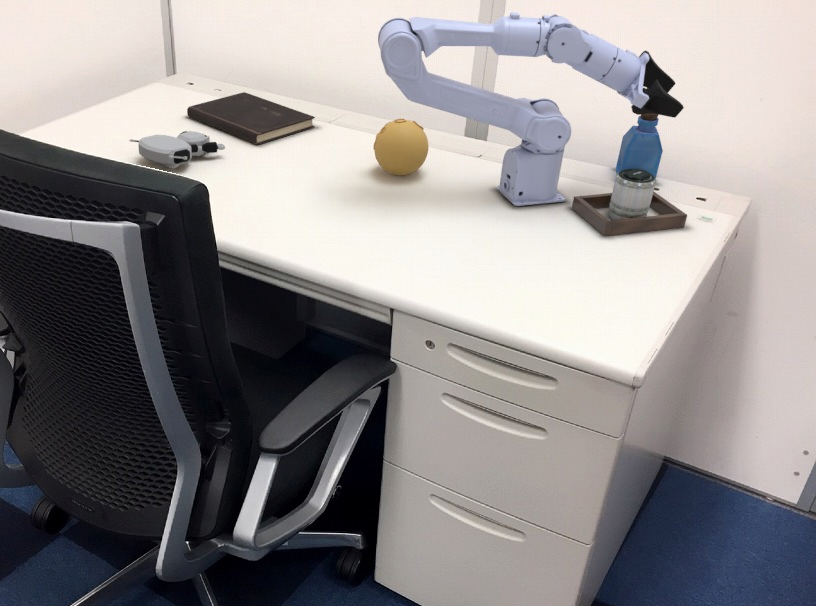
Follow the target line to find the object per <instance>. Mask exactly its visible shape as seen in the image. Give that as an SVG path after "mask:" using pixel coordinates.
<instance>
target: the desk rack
mask: <svg viewBox="0 0 816 606" xmlns="http://www.w3.org/2000/svg"><path fill="white" fill-rule="evenodd" d="M611 196H612V192H605V193H597V194H587V195H586V194H585V195H575V196H573V199H572V205H571V209H572V210H573V211H574V212H575V213H576V214H577V215H579V216H580V217H581V218H582V219H583V220H585V222H587V223H588V224H589V225H590V226H591V227H593V228H594V229H595V230H596V231H598V232H599V233H600V234H601V235H602V236H603V237H605V236H606V237H607V236H617V235H625V234H634V233H643V232H653V231H662V230H671V229H681V228H685V225H686V222H687V219H688V214H687V213H685V212H684V211H683V210H682V209H680V208H678V207H677V206H675V205H674V204H672V203H671V202H669V201H668V200H667V199H665V198H664V197H662V196H661V195H660V194H658V193H657V192H656V191H654V192H653V195H652V199H651V203H650V207H649V208H651V209H652V210H654V211H655V212H656V213H658V215H649V216H648V215H647V216H646V217H638V218H628V219H619V220H612V219H610V220H609V218H607V217H606V216H605V215H603V214H602V213H601V212H600V211H598V210H597V209H602V208H603V209H604V208H609V205H610V201H611Z"/></svg>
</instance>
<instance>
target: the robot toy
mask: <svg viewBox="0 0 816 606" xmlns="http://www.w3.org/2000/svg"><path fill="white" fill-rule="evenodd" d="M129 142H131V143H137V144H138V154H139V156H141V157H142V158H143V159H144V160H147V161H148V162H151V163H154V164H157V165H162V166H165V167H167V168H169V169H177V168H178V167H180V166H181V165H182V164H186V163H189V162H190V161H191V159H192V158H193V157H197V158H198V157H202V156H204V154H205V153H207V154H213V153H218V150H220V151H223V150H225V149H226V145H225V144H223V143H217V142H216V141H211V139H210V136H209V135H206V134H204V133H201V132H198V131H192V130H189V131H187V130H185V131H182V132H181V133H179V134H178V135H177V136H171V135H166V134H154V135H148V136H145V137H144V136H143V137H141V138H140V139H139V140H138V139H137V140H136V139H131V138H130V139H129Z"/></svg>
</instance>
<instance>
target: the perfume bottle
mask: <svg viewBox="0 0 816 606" xmlns="http://www.w3.org/2000/svg"><path fill="white" fill-rule="evenodd" d="M658 117H659V115H658V114H640V115H638V117H637V122H636V123H637V125H632V126H631V127H630V128H629V129H628V130H627V131H626V132H625V134H623V135H622V140H621V143H620V148H619V151H618V157H617V161H616V165H615V172H616V175H617V174H618V173H619V172H620V171H622V170H625V169H631V168H633V169H634V168H637V169H643V170H646V171H648V172H650V173H651V174H653V175H654V177H655V178H656V179H657V176H658V171H659V168H660V163H661V159H662V156H663V152H664V151H663V146H662V142H661V138H660V137H661V136H660V133H659V131H658V129H657V127H658V124H659V121H660V118H658Z"/></svg>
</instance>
